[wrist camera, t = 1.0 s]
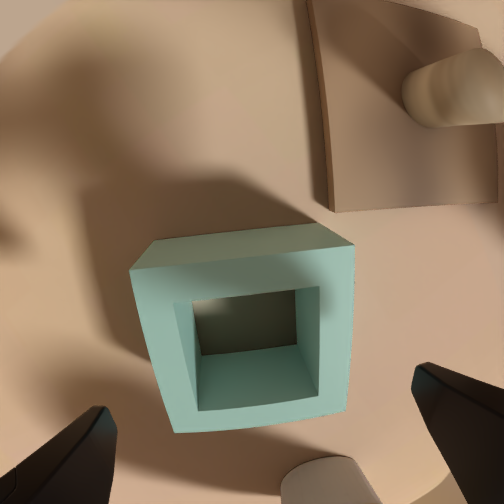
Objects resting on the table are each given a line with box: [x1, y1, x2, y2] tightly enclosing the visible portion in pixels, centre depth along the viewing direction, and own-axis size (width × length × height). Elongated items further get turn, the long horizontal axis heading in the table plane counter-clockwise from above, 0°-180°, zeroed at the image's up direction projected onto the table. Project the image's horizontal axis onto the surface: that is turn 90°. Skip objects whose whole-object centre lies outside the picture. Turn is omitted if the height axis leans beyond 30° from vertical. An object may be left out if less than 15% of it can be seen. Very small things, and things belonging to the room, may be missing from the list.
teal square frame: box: [129, 223, 355, 433], centre depth 12 cm, size 7×7×4 cm
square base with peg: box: [306, 0, 504, 213], centre depth 10 cm, size 10×10×5 cm
